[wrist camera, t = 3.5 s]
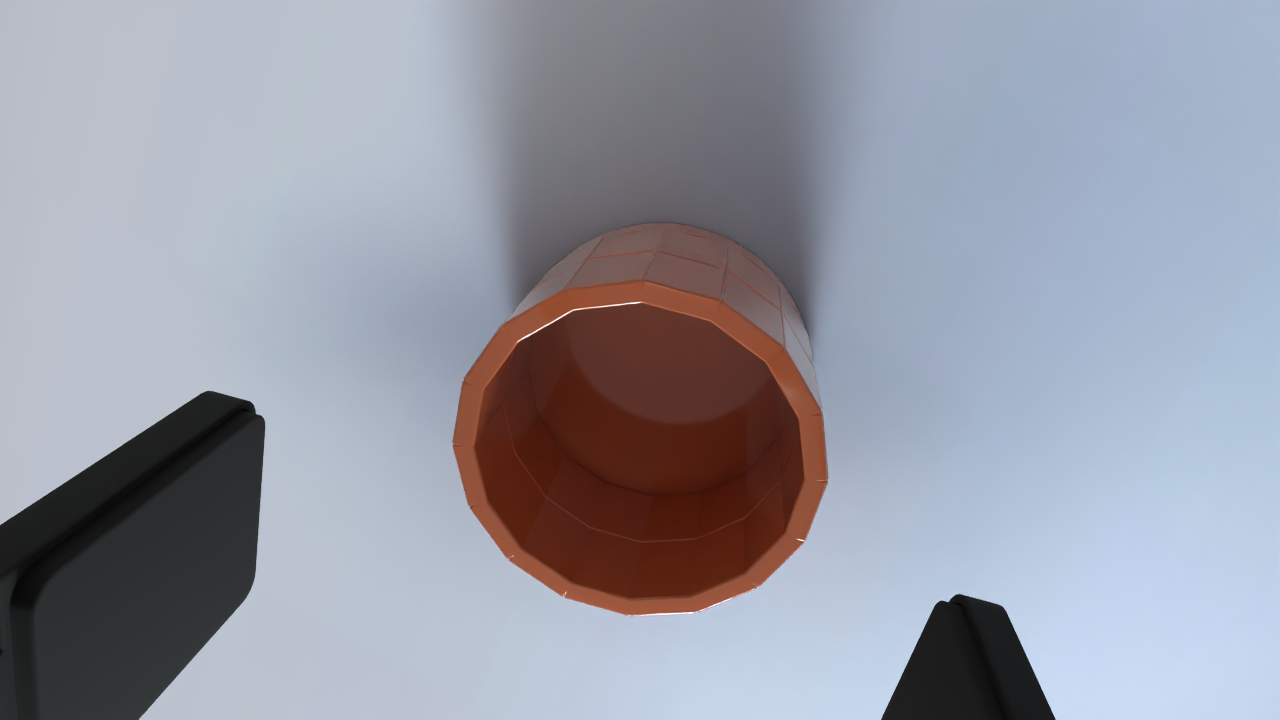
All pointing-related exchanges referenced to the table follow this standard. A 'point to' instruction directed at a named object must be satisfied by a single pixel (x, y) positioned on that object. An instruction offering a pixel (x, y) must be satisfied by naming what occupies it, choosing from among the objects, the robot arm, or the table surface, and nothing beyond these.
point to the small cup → (647, 424)
